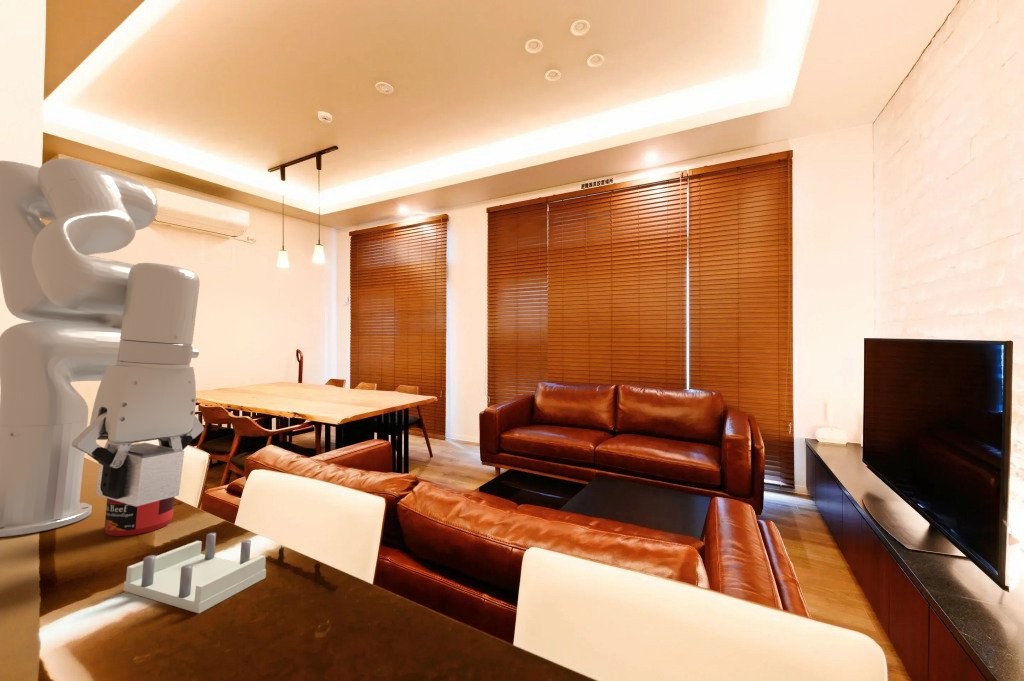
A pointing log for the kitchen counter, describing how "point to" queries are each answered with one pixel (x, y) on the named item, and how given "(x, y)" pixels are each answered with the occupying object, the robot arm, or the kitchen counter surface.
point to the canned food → (137, 517)
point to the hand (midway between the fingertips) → (138, 489)
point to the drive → (149, 474)
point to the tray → (194, 575)
